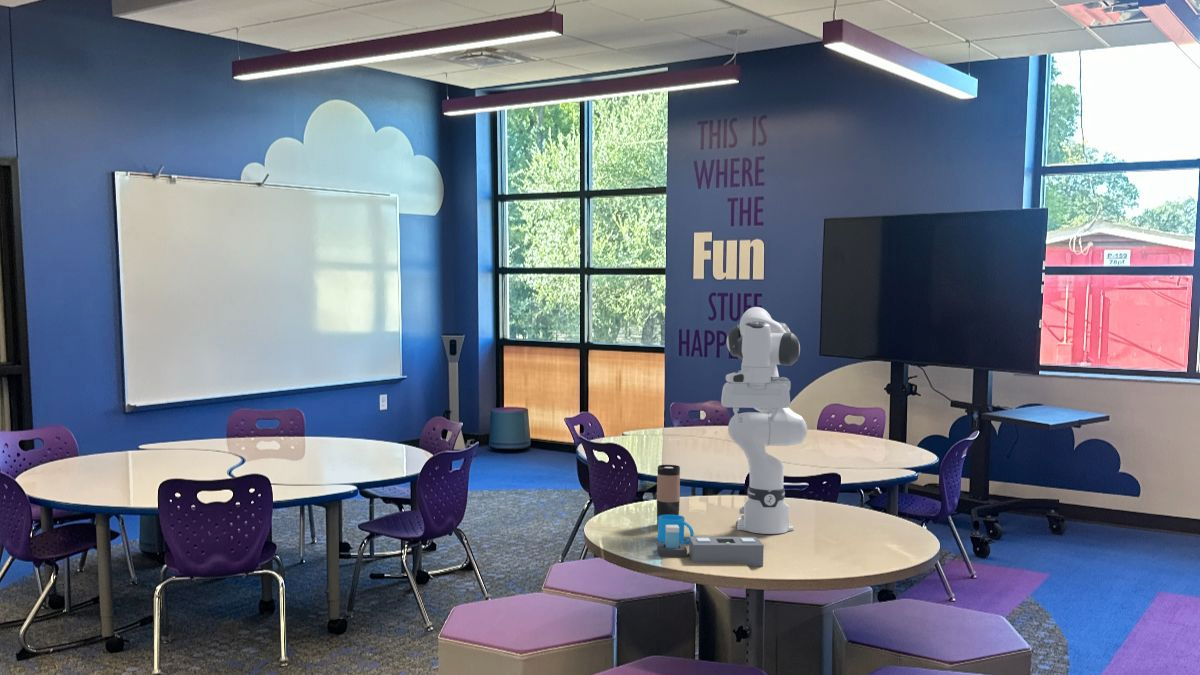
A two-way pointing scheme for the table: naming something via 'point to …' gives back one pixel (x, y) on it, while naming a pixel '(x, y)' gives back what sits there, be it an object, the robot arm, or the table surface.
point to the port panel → (726, 550)
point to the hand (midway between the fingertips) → (755, 422)
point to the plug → (672, 536)
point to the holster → (672, 550)
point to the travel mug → (668, 490)
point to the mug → (672, 520)
